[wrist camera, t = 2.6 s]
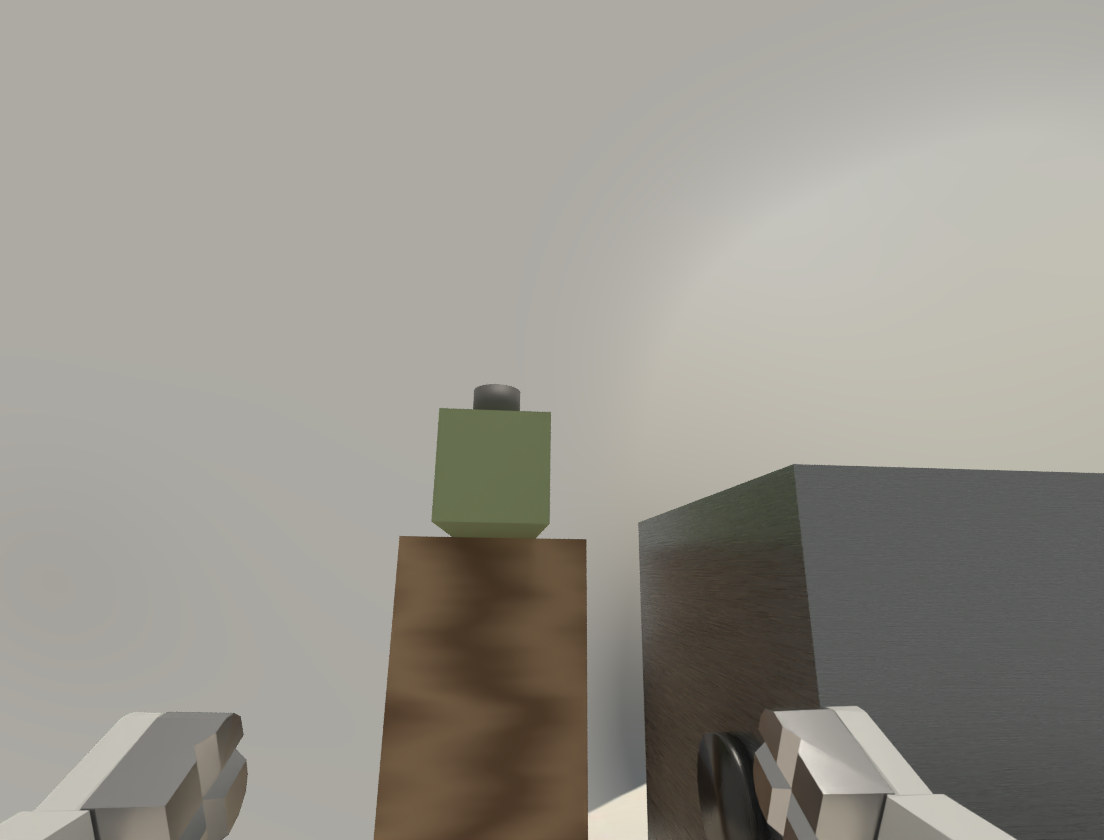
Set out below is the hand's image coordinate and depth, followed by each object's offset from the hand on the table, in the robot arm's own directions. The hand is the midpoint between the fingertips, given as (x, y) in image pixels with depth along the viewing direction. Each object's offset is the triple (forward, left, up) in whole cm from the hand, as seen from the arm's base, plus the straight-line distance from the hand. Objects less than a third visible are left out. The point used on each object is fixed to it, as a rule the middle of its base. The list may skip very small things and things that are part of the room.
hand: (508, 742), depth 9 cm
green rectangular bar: (-1, +19, +4) cm, 19 cm away
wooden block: (-1, +23, -22) cm, 31 cm away
